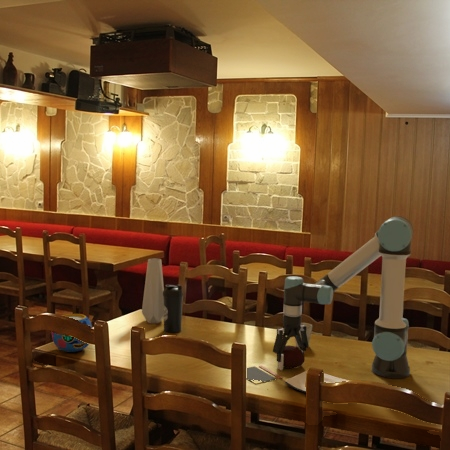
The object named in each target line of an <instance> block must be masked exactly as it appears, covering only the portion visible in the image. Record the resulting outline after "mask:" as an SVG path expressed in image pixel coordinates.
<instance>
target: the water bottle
mask: <svg viewBox="0 0 450 450" xmlns="http://www.w3.org/2000/svg"><path fill="white" fill-rule="evenodd" d="M184 293H185V292H184V290H183V287H182V285H181V284H179V283H178V284H176V285H174V284H165V287H164V291H163V297H164V317H163V332H165V333H167V334H177V333H180V332H182V319H183V317H182V316H183V297H184Z"/></svg>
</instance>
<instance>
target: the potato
mask: <svg viewBox="0 0 450 450" xmlns="http://www.w3.org/2000/svg"><path fill="white" fill-rule="evenodd" d="M282 354H283V355H284V357H283V368H286V369H297V368H299V367H302V366H301V365H302V364H303V365H304V363H305V359H306V358H305V352H304V353H303V352H302V351H301V350H300V348H299V347H297V346H296V345H295V346H294V345H286V346H285V348H284V350H283V352H282Z"/></svg>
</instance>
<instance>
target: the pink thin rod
mask: <svg viewBox="0 0 450 450" xmlns="http://www.w3.org/2000/svg"><path fill="white" fill-rule="evenodd" d="M258 366H259V367H258V368H260V367H261V368H260V369H261V370H263V369H264V371H265V370H266V371H265V372H267V371H268V372H267V373H269V374H270V375H272V374H273V376H274V375H275V376H274V377H275V378H278V379H279V378H280V380H281V378H282V379H283V378H284V376H281V375H279V374H278V373H276V372H274V371H272V370H270V369H269V368H267V367H265V366H263V365H258Z"/></svg>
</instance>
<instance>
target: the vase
mask: <svg viewBox="0 0 450 450" xmlns="http://www.w3.org/2000/svg"><path fill="white" fill-rule="evenodd" d="M162 262H163V261H162V259H161V258H156V257H155V258H148V259H147V264H146V265H147V266H146V275H145V281H144V283H145V284H144V290H143V298H142V299H143V300H142V306H141V307H142V308H141V313H142V314H141V315H143V317H144V319H145V321H146V322H147V323H148V324H160V323H161V322H162V321H163V320H164V297H163V291H164V289H165V287H164V276H163V264H162Z"/></svg>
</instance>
